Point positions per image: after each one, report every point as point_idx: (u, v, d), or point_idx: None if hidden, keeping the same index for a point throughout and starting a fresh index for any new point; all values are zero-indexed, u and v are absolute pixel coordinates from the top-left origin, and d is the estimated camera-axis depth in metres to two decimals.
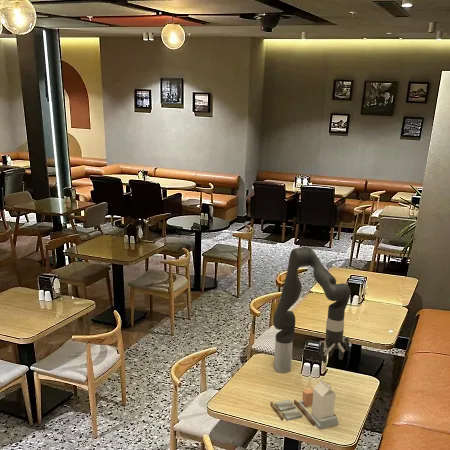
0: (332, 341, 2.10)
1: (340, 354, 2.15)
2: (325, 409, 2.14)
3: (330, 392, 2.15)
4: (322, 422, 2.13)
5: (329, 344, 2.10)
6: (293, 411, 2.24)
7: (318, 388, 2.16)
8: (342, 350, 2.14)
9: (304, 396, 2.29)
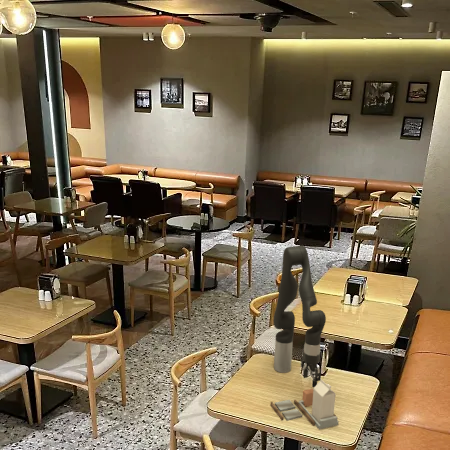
0: None
1: (306, 373, 2.31)
2: (325, 409, 2.14)
3: (330, 392, 2.15)
4: (322, 422, 2.13)
5: None
6: (293, 411, 2.24)
7: (318, 388, 2.16)
8: None
9: (304, 396, 2.29)
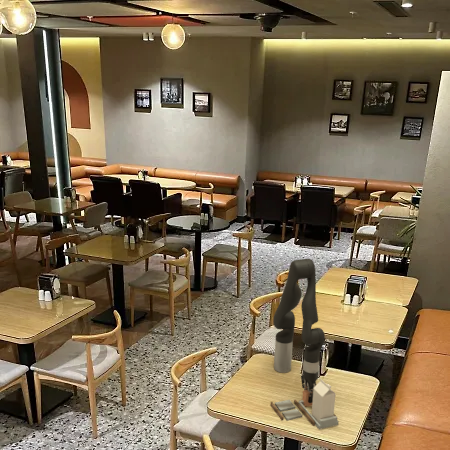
0: None
1: None
2: (325, 409, 2.14)
3: (330, 392, 2.15)
4: (322, 422, 2.13)
5: None
6: (293, 411, 2.24)
7: (318, 388, 2.16)
8: None
9: (304, 396, 2.29)
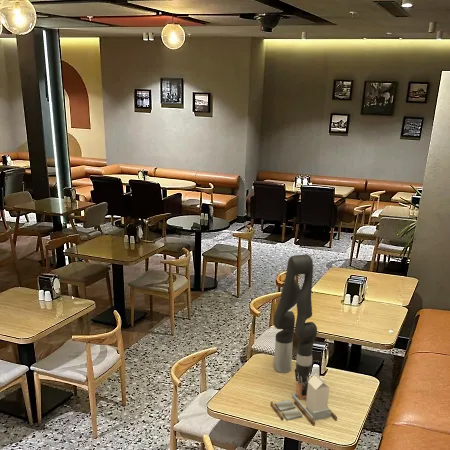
0: None
1: None
2: (319, 402, 2.19)
3: (324, 385, 2.20)
4: (315, 414, 2.19)
5: None
6: (293, 411, 2.24)
7: (312, 381, 2.22)
8: None
9: (298, 389, 2.35)
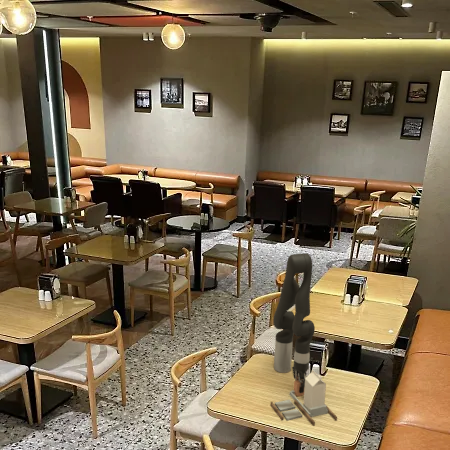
0: None
1: None
2: (316, 399, 2.22)
3: (321, 382, 2.22)
4: (312, 410, 2.21)
5: None
6: (293, 411, 2.24)
7: (309, 378, 2.24)
8: None
9: (295, 386, 2.37)
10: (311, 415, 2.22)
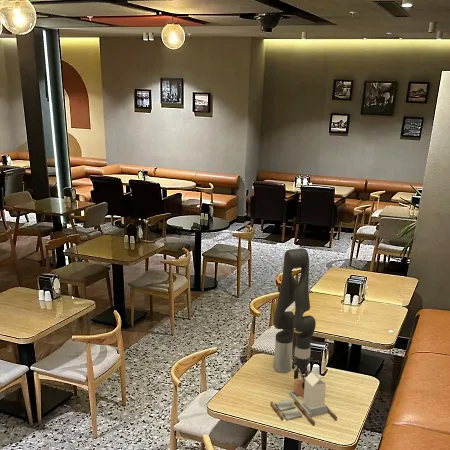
0: None
1: (296, 374, 2.42)
2: (315, 399, 2.22)
3: (320, 382, 2.22)
4: (312, 410, 2.21)
5: None
6: (293, 411, 2.24)
7: (309, 378, 2.24)
8: (298, 369, 2.42)
9: (295, 386, 2.37)
10: (311, 415, 2.22)
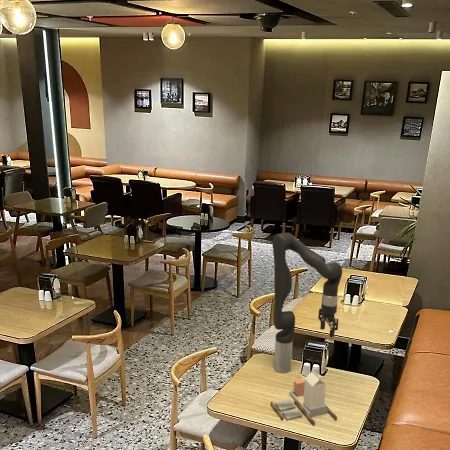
0: None
1: (323, 325, 2.42)
2: (315, 399, 2.22)
3: (320, 382, 2.22)
4: (312, 410, 2.21)
5: None
6: (293, 411, 2.24)
7: (309, 378, 2.24)
8: (325, 320, 2.42)
9: (295, 386, 2.37)
10: (311, 415, 2.22)
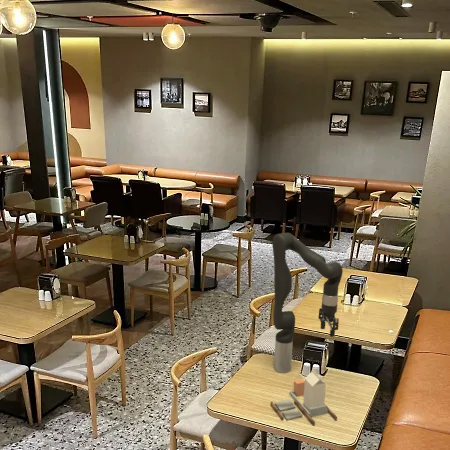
0: None
1: (323, 324, 2.42)
2: (315, 399, 2.22)
3: (320, 382, 2.22)
4: (312, 410, 2.21)
5: None
6: (293, 411, 2.24)
7: (309, 378, 2.24)
8: None
9: (295, 386, 2.37)
10: (311, 415, 2.22)
